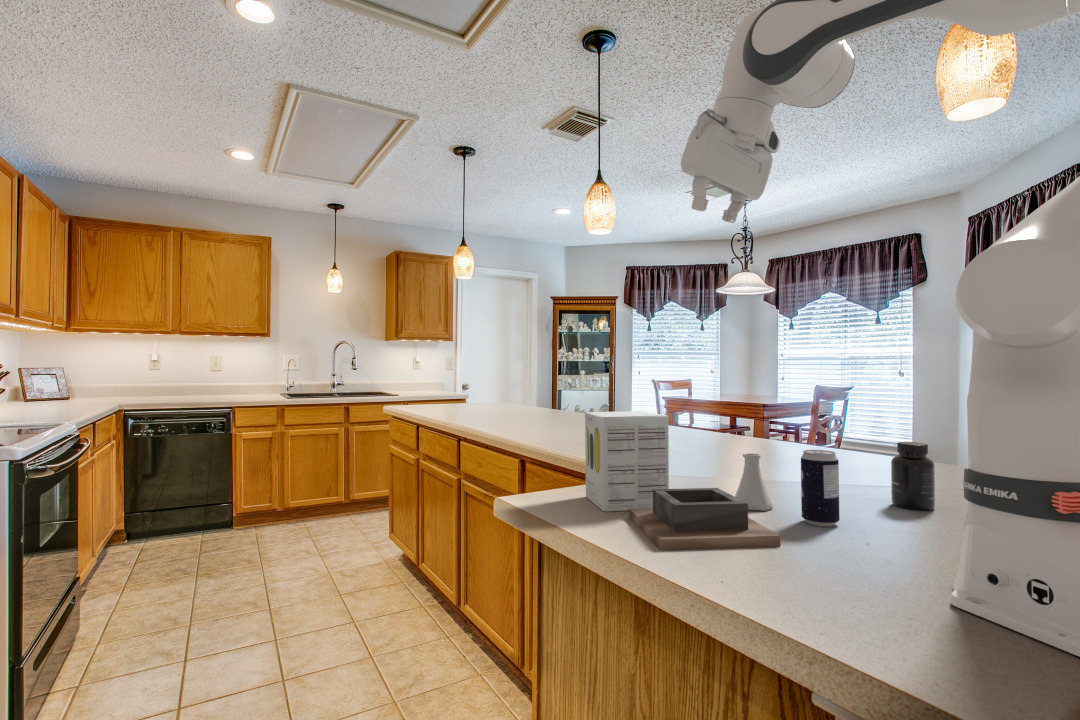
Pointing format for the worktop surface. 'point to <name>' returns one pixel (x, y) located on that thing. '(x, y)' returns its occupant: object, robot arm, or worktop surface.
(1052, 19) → the robot arm
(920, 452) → the supplement bottle
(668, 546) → the square holder on base
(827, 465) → the beverage can
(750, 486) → the flask
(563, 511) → the worktop surface
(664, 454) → the supplement box
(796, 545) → the worktop surface
